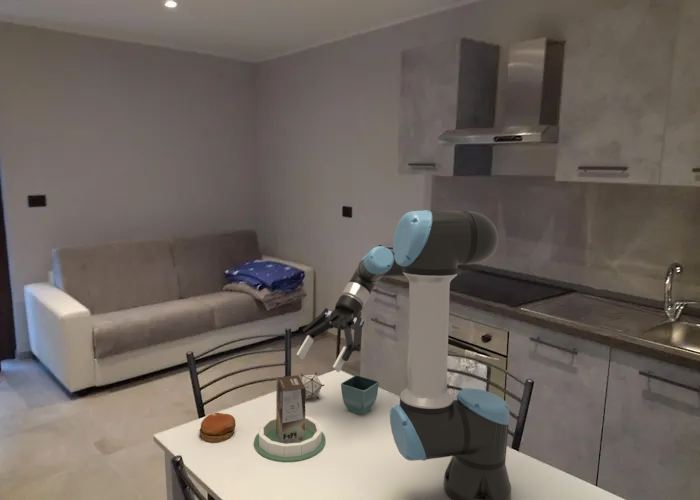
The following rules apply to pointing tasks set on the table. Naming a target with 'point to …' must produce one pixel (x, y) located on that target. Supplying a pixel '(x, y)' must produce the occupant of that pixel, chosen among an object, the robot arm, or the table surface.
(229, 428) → the burger
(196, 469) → the table surface
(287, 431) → the coffee box
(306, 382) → the game die
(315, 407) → the table surface
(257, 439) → the round green tray
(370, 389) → the flower pot
